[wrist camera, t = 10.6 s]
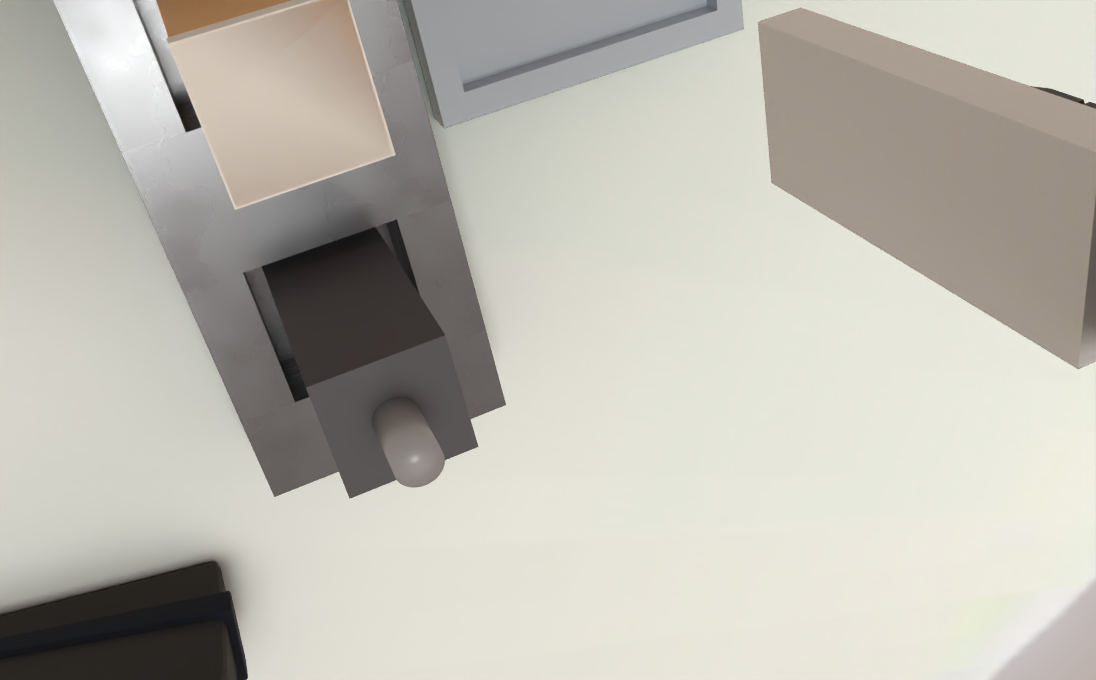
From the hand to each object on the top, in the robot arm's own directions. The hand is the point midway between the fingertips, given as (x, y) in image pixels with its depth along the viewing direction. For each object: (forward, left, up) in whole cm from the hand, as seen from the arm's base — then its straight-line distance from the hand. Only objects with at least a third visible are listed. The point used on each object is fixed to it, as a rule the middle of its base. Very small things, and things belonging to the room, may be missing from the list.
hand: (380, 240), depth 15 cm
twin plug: (+10, 0, -21) cm, 23 cm away
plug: (+1, 0, -21) cm, 21 cm away
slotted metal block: (+5, 0, -22) cm, 22 cm away
